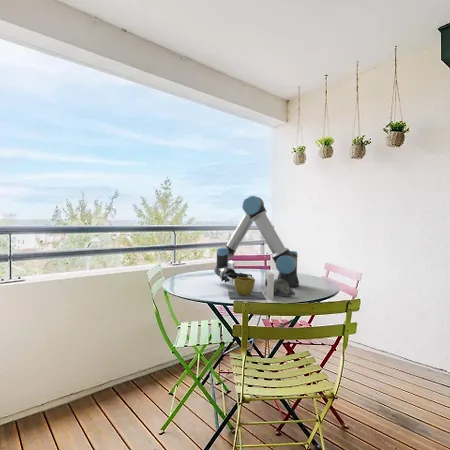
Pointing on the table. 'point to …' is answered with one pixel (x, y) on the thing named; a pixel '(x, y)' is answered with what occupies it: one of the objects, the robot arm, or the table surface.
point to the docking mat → (251, 296)
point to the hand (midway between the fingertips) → (243, 280)
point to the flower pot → (244, 285)
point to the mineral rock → (282, 288)
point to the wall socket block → (269, 284)
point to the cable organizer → (230, 265)
